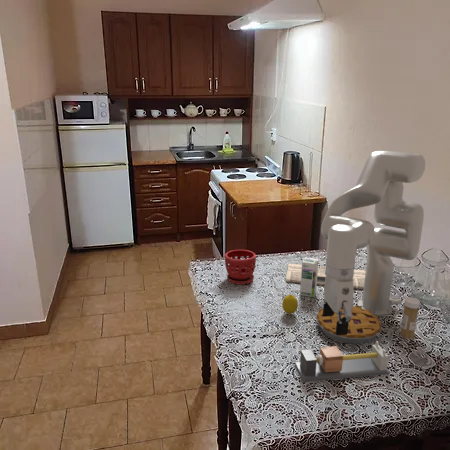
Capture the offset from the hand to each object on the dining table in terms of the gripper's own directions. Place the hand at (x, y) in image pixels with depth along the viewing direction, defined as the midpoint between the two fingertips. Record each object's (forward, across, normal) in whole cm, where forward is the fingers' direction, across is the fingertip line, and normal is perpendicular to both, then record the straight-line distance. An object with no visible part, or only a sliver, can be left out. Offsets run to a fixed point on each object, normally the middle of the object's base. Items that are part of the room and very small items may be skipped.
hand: (334, 324), depth 122 cm
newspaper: (+17, +61, -24) cm, 68 cm away
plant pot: (+16, +64, +16) cm, 67 cm away
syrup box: (+16, +48, -9) cm, 51 cm away
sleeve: (+14, 0, 0) cm, 14 cm away
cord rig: (+15, 0, -3) cm, 16 cm away
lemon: (+16, +32, +3) cm, 36 cm away
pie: (+16, +20, -14) cm, 30 cm away
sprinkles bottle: (+16, +14, -32) cm, 39 cm away
